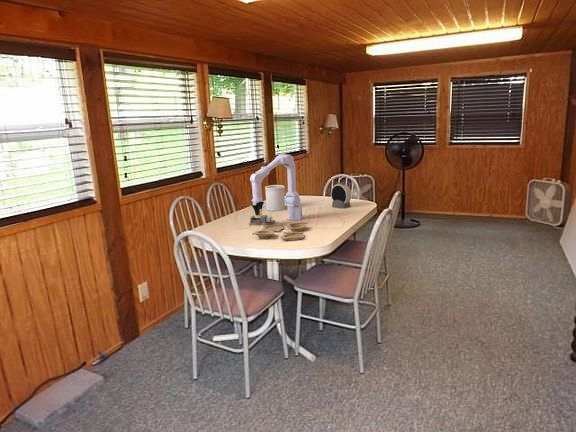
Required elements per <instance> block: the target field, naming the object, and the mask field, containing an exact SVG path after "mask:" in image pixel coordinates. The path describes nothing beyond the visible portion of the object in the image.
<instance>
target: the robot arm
mask: <svg viewBox="0 0 576 432" xmlns="http://www.w3.org/2000/svg"><path fill="white" fill-rule="evenodd" d="M278 165H282V166H284V167H285V168H286V170H287V171H286V173H287V174H286V175H287V176H286V177H287V192H285V205H286V206H287V218H286V220H287V221H291V220H292V221H300V220H302V218H303V208H302V207H303V206H302V205H300V204H301V198H300V194H299V192H298V191H297V179H296V178H297V175H296V174H297V173H296V163H295V160H294V156H293V155H291V154H289V153H287V154H283V153H279V154H278V155H277V156H276V157H275V158H274V159H273V160H272V161H271V162H270V163H268V164H267V166H261V167H260V169H259V170H257V171H255V173H252V174H251V175H250V178H249V181H250V183H251V189H252V191H251V193H252V199H251V202H252V204H251V207H252V208H253V211H254V215H255V214H256V215H259V213H260V209H261V211H262V210H263V207H264V206H263V205H264V203H265V202H264V201H263V193H262V192H263V191H262V190H263V189H262V183H263V181H264V179H265V178H267V176H269V174H270V173H271V171H272V170H273V169H275V168H276V167H277V166H278ZM262 212H263V211H262Z"/></svg>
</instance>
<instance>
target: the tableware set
mask: <svg viewBox="0 0 576 432" xmlns="http://www.w3.org/2000/svg"><path fill="white" fill-rule="evenodd" d="M307 225H308V222H306V221H304V222H287V226H286V227H287V228H288V229H290V230H291V231H283V234H282V235H280V239H281V240H284V241H298V240H302V239H304V238H305V235H304V232H302V231H303V230H304V229H305V228H306V227H307ZM262 226H263V227H262V228H261V229H260V230H259V229H258V230H256V231H254V232H251V235H253V236H254V235H256V236H257V237H258V238H259V239H269V238H271V236H272V235H274V234H275V232H281V231H282V230H284V226H283V224H282V223H277V224H272V225H262Z"/></svg>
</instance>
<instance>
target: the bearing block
mask: <svg viewBox="0 0 576 432" xmlns="http://www.w3.org/2000/svg"><path fill="white" fill-rule="evenodd" d="M265 217H268V214H263V215H262V216H261V217H260V219H261V223H266V220H265Z"/></svg>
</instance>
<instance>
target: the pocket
mask: <svg viewBox="0 0 576 432" xmlns="http://www.w3.org/2000/svg"><path fill="white" fill-rule="evenodd" d="M249 220H250V222H249V223H261V219H260V218H255V215H252V216H251V217H249Z"/></svg>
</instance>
